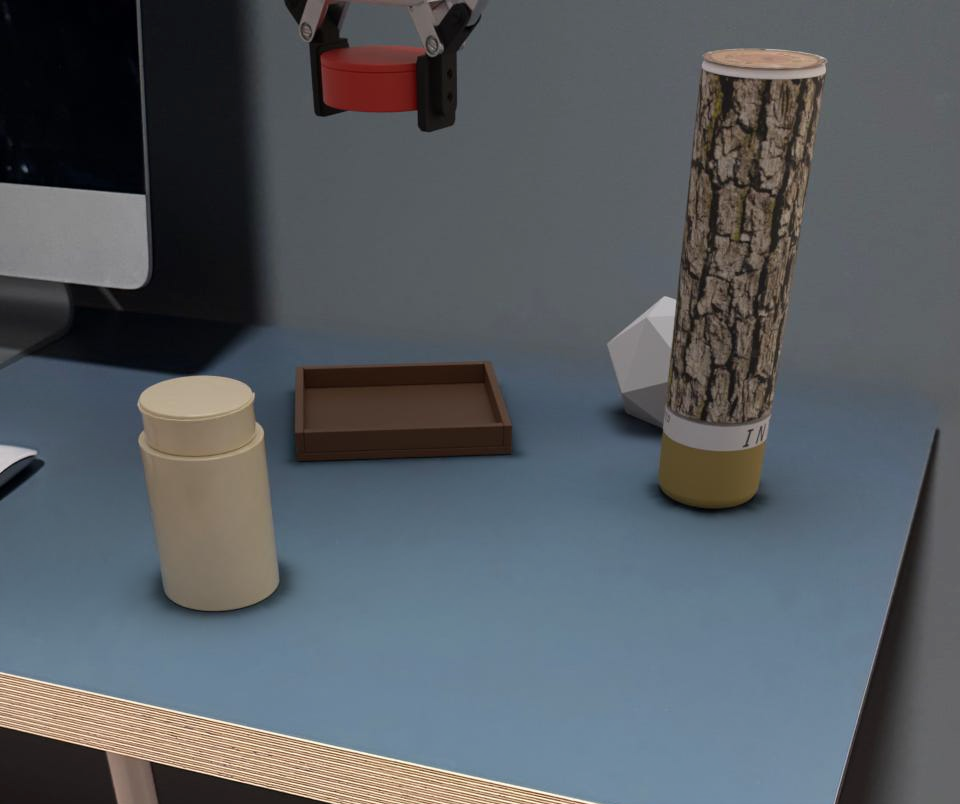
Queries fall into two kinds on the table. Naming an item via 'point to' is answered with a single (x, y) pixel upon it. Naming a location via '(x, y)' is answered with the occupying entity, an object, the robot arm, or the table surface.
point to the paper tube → (737, 268)
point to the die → (645, 361)
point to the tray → (399, 411)
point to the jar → (208, 492)
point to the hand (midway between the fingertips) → (384, 118)
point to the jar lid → (371, 78)
